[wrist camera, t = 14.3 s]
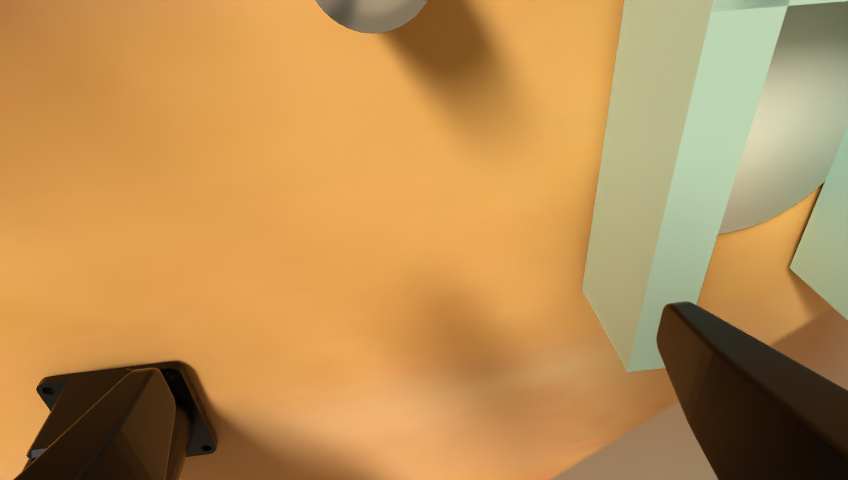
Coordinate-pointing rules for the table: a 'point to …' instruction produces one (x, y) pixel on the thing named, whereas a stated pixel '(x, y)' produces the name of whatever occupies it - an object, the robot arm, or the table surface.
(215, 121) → the table surface
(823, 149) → the cream oval dome
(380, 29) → the peg
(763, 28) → the c link
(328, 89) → the table surface
